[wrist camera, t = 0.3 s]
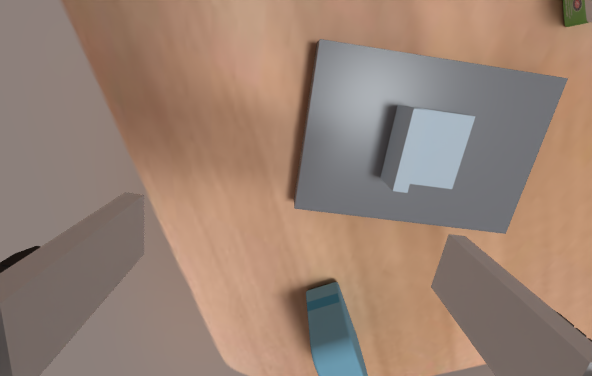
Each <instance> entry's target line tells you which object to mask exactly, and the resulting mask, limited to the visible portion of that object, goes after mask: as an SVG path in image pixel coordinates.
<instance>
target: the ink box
mask: <svg viewBox="0 0 592 376" xmlns="http://www.w3.org/2000/svg"><path fill="white" fill-rule="evenodd" d="M563 11H564V22H565V26H566V27H570V26H575V25H580V24H584V23H589V22H592V0H563Z"/></svg>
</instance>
